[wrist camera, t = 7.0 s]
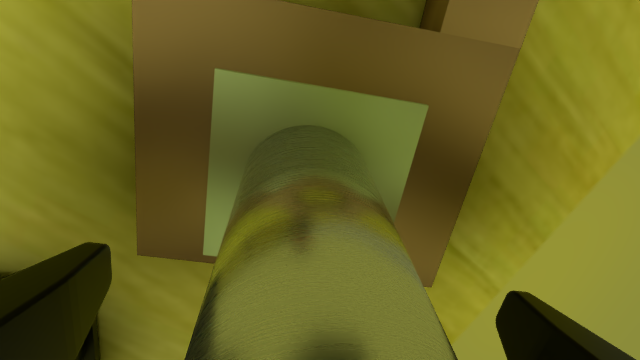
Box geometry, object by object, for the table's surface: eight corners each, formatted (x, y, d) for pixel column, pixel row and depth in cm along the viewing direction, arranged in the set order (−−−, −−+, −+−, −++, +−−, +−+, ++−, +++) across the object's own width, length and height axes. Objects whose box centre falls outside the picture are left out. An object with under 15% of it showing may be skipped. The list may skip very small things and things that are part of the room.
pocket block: (416, 256, 18) (432, 290, 16) (157, 225, 16) (135, 258, 14) (589, -255, 11) (665, -326, 8) (159, -392, 9) (116, -520, 7)
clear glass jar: (353, 245, 14) (431, 552, 6) (237, 231, 14) (154, 552, 6) (382, 136, 13) (543, 368, 4) (249, 115, 12) (154, 337, 4)
